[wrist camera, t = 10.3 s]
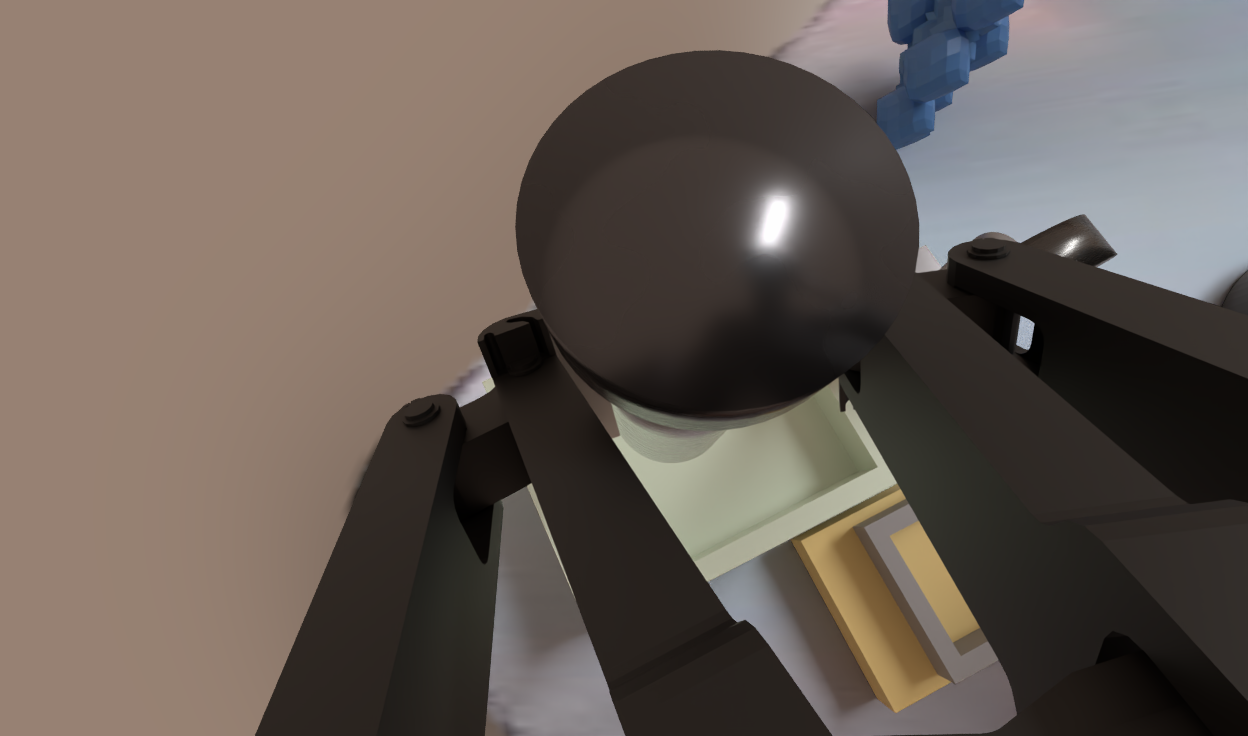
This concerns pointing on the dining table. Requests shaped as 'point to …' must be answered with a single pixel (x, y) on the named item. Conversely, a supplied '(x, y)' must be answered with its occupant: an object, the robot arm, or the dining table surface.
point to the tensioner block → (893, 600)
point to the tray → (761, 482)
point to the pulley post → (1048, 244)
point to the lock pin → (714, 242)
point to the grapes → (938, 58)
